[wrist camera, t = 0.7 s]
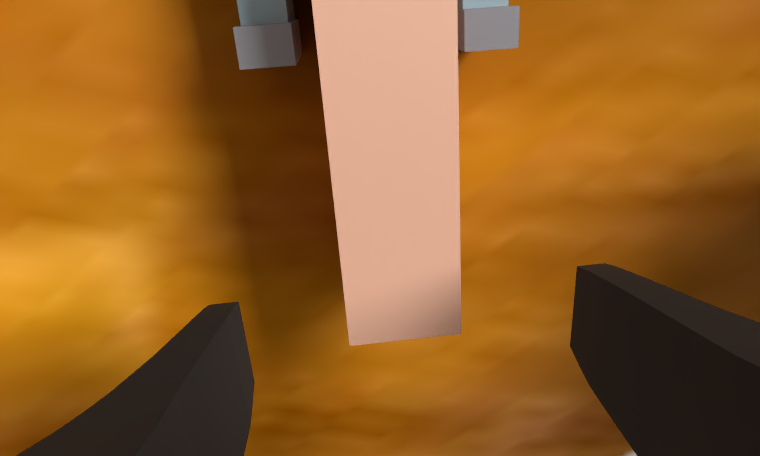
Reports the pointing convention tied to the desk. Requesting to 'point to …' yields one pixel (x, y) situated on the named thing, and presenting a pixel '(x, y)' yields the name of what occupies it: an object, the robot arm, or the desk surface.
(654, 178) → the desk surface
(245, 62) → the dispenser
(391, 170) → the salmon pink block
